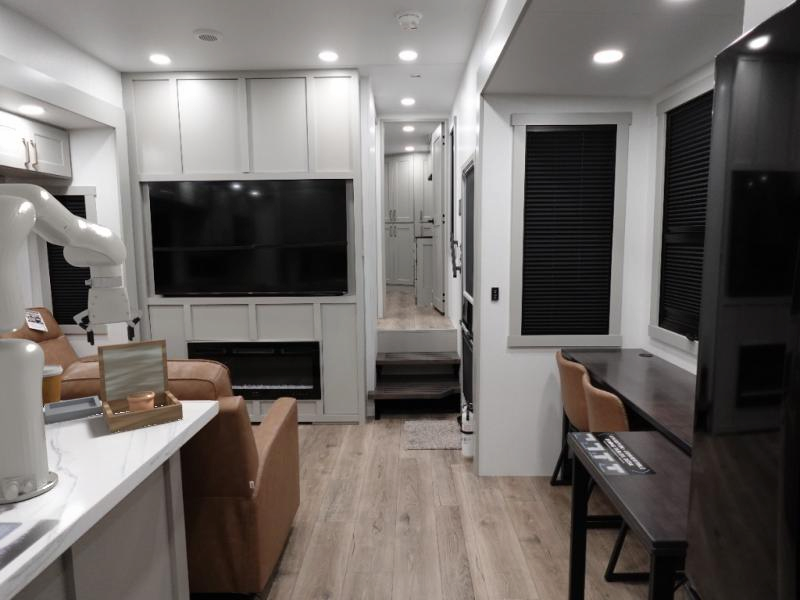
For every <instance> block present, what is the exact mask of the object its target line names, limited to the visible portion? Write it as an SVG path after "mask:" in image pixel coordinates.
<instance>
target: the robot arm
mask: <svg viewBox="0 0 800 600" xmlns="http://www.w3.org/2000/svg"><path fill="white" fill-rule="evenodd" d="M31 232H34V233H35V234H37V235H38V236H39V237H41V238H42V239H43V240H44V241H46V242H48V243H50V244H52V245H57V246H61V247H63V257H64V259H65V261H66V262H67V263H68V264H70V265H71V266H73V267H79V268H89V270H90V279H88V280H87V279H86V280H85V281H84V282H85V286H90V287H91V288H89V289H88V297H87V309H85V310H84V311H81V312H80V313H78V314H76V315H75V316H73V320H74V321H75V322H76V324H77V325H78V326H79V327H80V328H81V329H83V330H84V331H86V339H87V343H89V344H90V345H91V346H92V347H93V346H95V333H94V330H93V329H94V328H95V326H96V325H109V324H110V325H111V324H118V323H126V324H127V326H126V330H127V340H128V341H130V342H134V341H133V340H134V338H135V337H136V336H135V327H136V325H137V324H138V323H139V322H140V321H141V319H142V317H143V314H144V311H143V310H141V309H139V308H135V307H133V306H130V299H129V294H128V289H127V287H125V286H123V278H122V264H124V262H125V261H126V259H127V255H128V254H127V248H126V246H125V244H124V242H123V241H122V239H121V238H120V236H118V235H117V234H116V233H115V232H114V231H113V230H112V229H111V228H109V227H106V225H105V226H104V225H102V224H99V223H97V222H94V221H93V220H89V219H86V218H84V217H81V216H78V215H74V214H73V213H72V212H71V211H70V210H68V209H67V208H66V207H65V206H64V205H63V204H62V203H61V202H60V201H59V200H58V199H56V198H55V197H54V196H53V195H52V194H51V193H50V192H48V191H47V190H46V188H43V187H42V186H39V185H37V184H32V183H0V335H7V334H13V333H15V332H18V331H20V330H21V329H22V328H23V327H24V325H25V324H26V318H27V317H26V315H27V314H26V306H25V302H24V301H25V300H24V297H23V293H22V286H21V281H20V278H19V273H18V265H17V264H18V263H17V262H18V261H17V260H18V256H19V252H20V250H21V248H22V245H23V244H24V242H25V240H26V239H27V238H28V236H29V235H30V233H31ZM131 312H132V313H134V314H136V315H135V316H134V317H133V319H132V318H131V317H132V314H131ZM86 316H88V320H89V322H88V324H86V323H84V322H83V321H82V319H83V318H84V317H86ZM45 357H46V356H45V351H44V350H43V348H42V346H41V345H40V344H38V343H37V342H35V341H32V340H30V339H25V338H13V337H12V338H9V337H8V338H0V504H1V505H2V504H10V503H17V502H21V501H25V500H28V499H31V498H34V497H37V496H40V495H42V494H44V493H46V492H48V491H50V490H51V489H53V488H54V487H55V486H56V485H58V483H59V475H58V473H56V472H54V471H52V470H51V471H50V470H49V468H50V467H49V459H48V458H49V457H48V448H47V447H48V446H47V436H46V426H45V425H46V423H45V412H44V407H43V402H42V379H43V371H44V366H45V362H46V361H45V360H46V359H45Z"/></svg>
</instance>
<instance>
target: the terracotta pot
mask: <svg viewBox="0 0 800 600" xmlns="http://www.w3.org/2000/svg"><path fill="white" fill-rule="evenodd" d="M154 397H155V394H154V392H152V391H142V392H136V393H132V394H129V395H128V396H127V401H128V402H129V412H128V413H131V412H136V411H142V410H147V409H153V408H154V402H153V398H154Z"/></svg>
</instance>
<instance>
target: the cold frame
mask: <svg viewBox="0 0 800 600" xmlns="http://www.w3.org/2000/svg"><path fill="white" fill-rule="evenodd" d="M97 359H98V360H97V361H98V371H99V373H98V374H99V385H100V400H101V401H100V402H101V405H102V413H103V414H102V417H104V418H103V420H104V419H105V420H104V422H105V424H107V425H106V427H107V426H108V427H107V429H108V430H109V433H113V434H116V433H115V432H118V431H122V432H126V431H125V430H127V431H131V429H132V430H136V428H137V429H141V428H140V427H142V428H145V427H144V426H147V427H149V426H148V425H152V426H155V425H154V424H157V425H161V424H160V423H162V424H165V423H164V422H167V423H170V422H169V421H172V422H175V421H174V420H177V421H179V420H178V419H182V418H183V419H184V415H183V414H184V413H183V403H181V401H179V400H178V398H177V397H175V395H174V394H173V393H171V391H170V390H169V388H170V387H169V374H168V372H169V370H168V355H167V341H166V339H165V338H162V339H154V340H145V341H136V342H134V341H133V342H125V343H116V344H107V345H106V344H105V345H99V346H97ZM142 391H152V392H154V394H155V397H154V398H153V402H154V407H155V406H161V405H166V406H161V407H156V408H153V409H147V410H142V411H136V412H131V413H130V412H128V413H123V414H117V415H113V414H115V413H120V412H126V411H129V402H128V401H127V396H128V395H129V394H132V393H136V392H142ZM183 419H182V420H183ZM118 433H119V432H118Z"/></svg>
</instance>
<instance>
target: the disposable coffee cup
mask: <svg viewBox="0 0 800 600" xmlns="http://www.w3.org/2000/svg"><path fill="white" fill-rule="evenodd" d="M63 371H64V368H63V366H62V365H60V364H47V365H45V364H44V371H43V379H42V402H43V406H45V405H44V404H48V403H54V402H60V401H61V393H62V392H61V391H62V390H61V389H62V373H63Z"/></svg>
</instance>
